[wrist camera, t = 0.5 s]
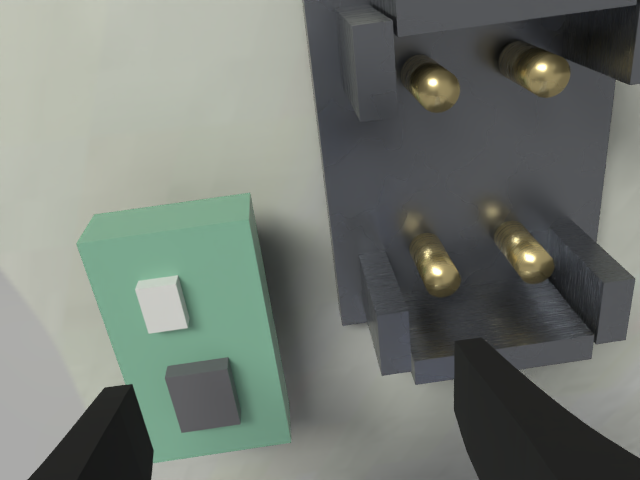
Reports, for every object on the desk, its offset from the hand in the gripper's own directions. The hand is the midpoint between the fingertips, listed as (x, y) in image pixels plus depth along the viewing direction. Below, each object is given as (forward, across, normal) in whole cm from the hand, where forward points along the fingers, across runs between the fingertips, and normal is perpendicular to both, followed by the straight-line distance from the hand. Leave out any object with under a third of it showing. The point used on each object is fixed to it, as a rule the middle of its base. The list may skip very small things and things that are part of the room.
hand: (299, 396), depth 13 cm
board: (+7, +3, +2) cm, 9 cm away
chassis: (+10, -6, -2) cm, 12 cm away
